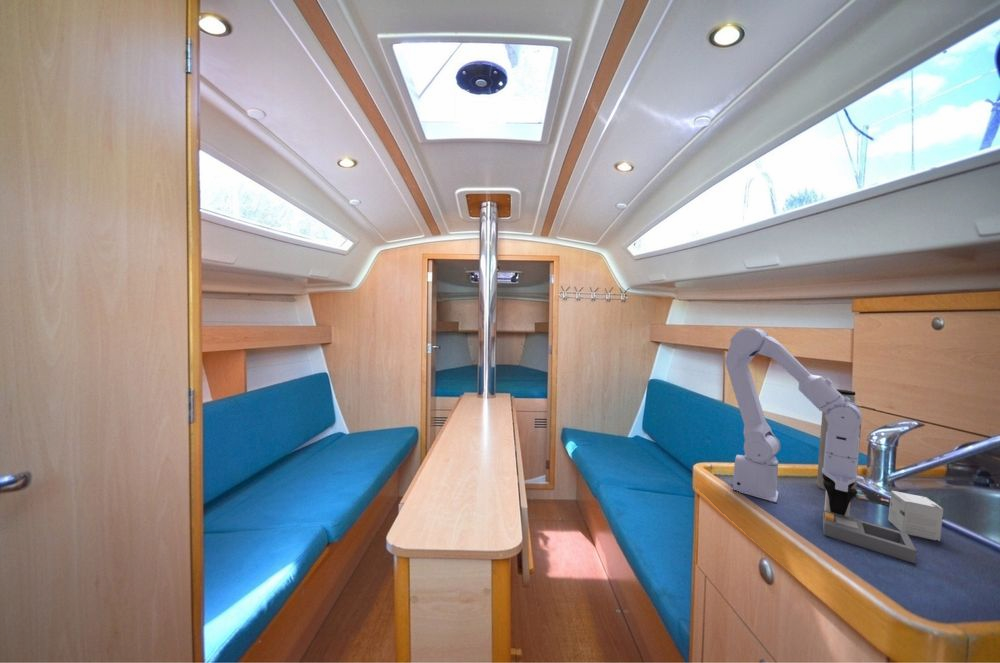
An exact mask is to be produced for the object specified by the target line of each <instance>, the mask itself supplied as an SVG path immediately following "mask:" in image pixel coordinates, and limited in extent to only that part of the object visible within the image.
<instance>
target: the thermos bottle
mask: <svg viewBox="0 0 1000 663" xmlns="http://www.w3.org/2000/svg"><path fill="white" fill-rule="evenodd" d="M835 389H836V390H837V391H838V392H839V393H840V394H841V395H842V396H844V397H848V398H849V399H850V401H849V402H851V403H853V404H855V405H857V407H858V409H859V410H860V404H859V403H857V402H856V397H855V396H856V392H855V391H852V390H847V389H838V388H835ZM825 414H827V413H824V412H822V411H821V424H820V438H819V439H820V440H819V451H818V462H817V463H818V466H817V476H816V478H817V479H816V486H818V488H820V489H822V490H824V491H826V489H825V487H824V484H823V480H824V479H823V477H822V474H824V473H822V468H823V466H824V453H825V441H826V432H827V431H828V422H827V420H826V418H825ZM862 419H863V418H862ZM862 419H861V422H862ZM859 430H860V434H859V435H858V436H859V438H860V439H861V432H862V423H861V424H860V426H859ZM860 443H861V440H860V441H859V447H860V446H861V444H860ZM859 455H860V454H859ZM859 455H858V457H860V456H859ZM858 471H859V465H858V466H857V473H858ZM857 483H858V481H856V482H855V484H854V485H853V486H852V487H851V489H855V490H856V489H857Z"/></svg>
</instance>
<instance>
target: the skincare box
mask: <svg viewBox="0 0 1000 663" xmlns="http://www.w3.org/2000/svg"><path fill="white" fill-rule="evenodd" d="M890 496H891V498H890V507H889V506H888V507H889V509H888V521H889V522H890V523H891V524H892V525H893V526H894V527H895V528H896V529H897V530H898V531H901V532H904V533H907V534H908V536H909V535H910V536H912V537H913V536H914V537H920V538H923V539H929V540H933V541H936V540H938V541H937V542H941V535H942V525H943V519H944V508H943V507H942V506H940V505H939V504H938V503H937V502H935V501H932V499H929V497H927V496H923V495H916V494H911V493H906V492H901V491H895V490H891V491H890ZM942 518H943V519H942Z"/></svg>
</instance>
